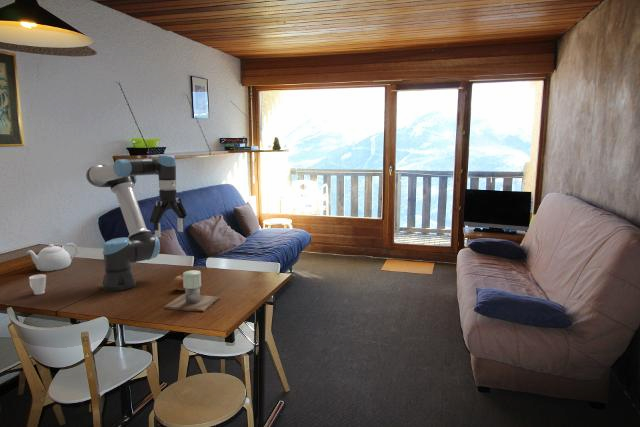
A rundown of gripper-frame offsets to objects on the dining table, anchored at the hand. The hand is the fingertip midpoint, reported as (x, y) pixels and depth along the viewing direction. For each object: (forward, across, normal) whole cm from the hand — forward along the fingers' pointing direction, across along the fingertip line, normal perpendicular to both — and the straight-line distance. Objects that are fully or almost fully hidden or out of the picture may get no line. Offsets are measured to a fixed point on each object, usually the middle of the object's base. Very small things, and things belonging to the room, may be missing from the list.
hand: (169, 234), depth 204 cm
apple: (+28, +3, -4) cm, 28 cm away
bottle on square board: (+27, -8, -22) cm, 35 cm away
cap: (+19, -8, -21) cm, 30 cm away
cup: (+29, -31, +54) cm, 69 cm away
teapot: (+30, -2, +89) cm, 94 cm away
